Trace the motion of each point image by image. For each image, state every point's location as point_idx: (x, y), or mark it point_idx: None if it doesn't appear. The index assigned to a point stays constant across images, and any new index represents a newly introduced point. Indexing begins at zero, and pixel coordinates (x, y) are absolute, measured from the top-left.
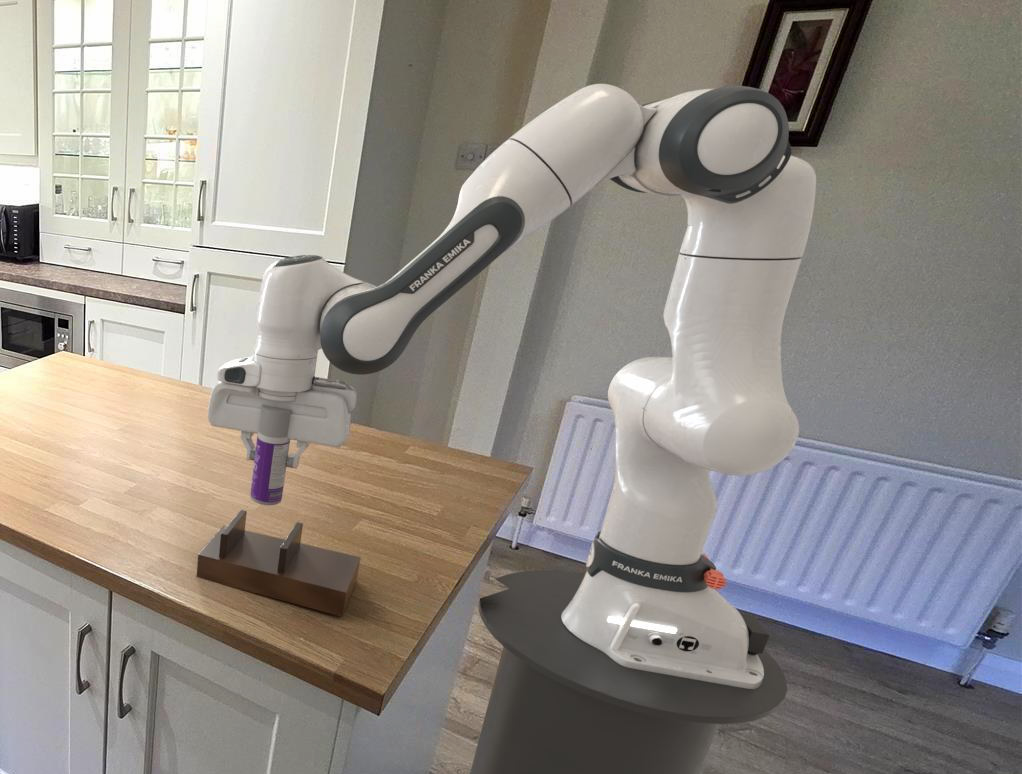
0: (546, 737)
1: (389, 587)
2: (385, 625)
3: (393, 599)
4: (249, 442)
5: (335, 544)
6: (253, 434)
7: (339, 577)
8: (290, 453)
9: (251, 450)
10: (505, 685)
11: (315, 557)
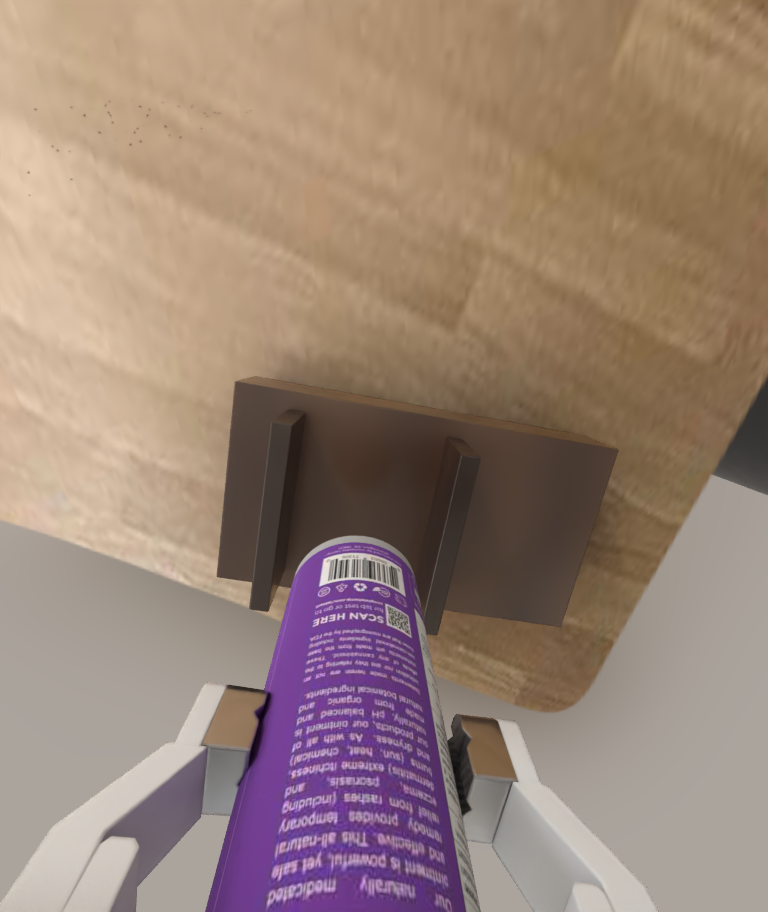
0: (753, 482)
1: (650, 409)
2: (611, 560)
3: (647, 459)
4: (153, 847)
5: (551, 210)
6: (136, 866)
7: (553, 570)
8: (475, 782)
9: (204, 811)
10: (747, 418)
11: (502, 492)
